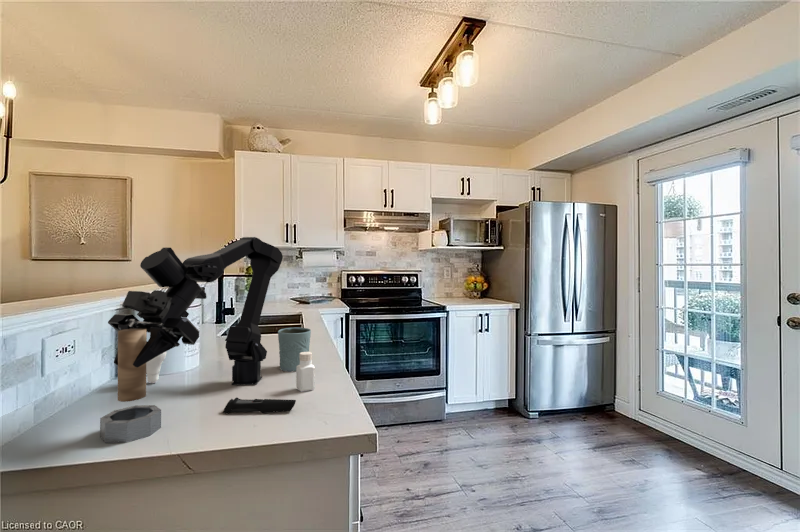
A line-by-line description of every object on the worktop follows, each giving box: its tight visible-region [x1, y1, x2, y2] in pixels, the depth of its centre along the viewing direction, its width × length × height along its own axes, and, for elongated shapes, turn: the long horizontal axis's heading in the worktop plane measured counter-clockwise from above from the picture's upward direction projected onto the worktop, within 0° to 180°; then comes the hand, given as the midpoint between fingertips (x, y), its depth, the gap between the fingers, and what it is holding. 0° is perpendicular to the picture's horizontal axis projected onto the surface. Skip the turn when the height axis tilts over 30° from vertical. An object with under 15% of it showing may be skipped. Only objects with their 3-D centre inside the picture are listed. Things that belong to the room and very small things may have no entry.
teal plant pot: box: [277, 327, 312, 372], centre depth 120 cm, size 10×10×12 cm
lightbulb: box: [146, 351, 168, 384], centre depth 103 cm, size 6×6×11 cm
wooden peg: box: [117, 328, 148, 403], centre depth 73 cm, size 4×4×13 cm
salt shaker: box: [295, 351, 316, 393], centre depth 99 cm, size 4×4×10 cm
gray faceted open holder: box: [99, 404, 162, 444], centre depth 73 cm, size 9×9×4 cm
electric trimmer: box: [222, 396, 297, 414], centre depth 84 cm, size 4×16×3 cm, turn 90°
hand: (125, 365), depth 72 cm, fingers closed on wooden peg, 4 cm apart
